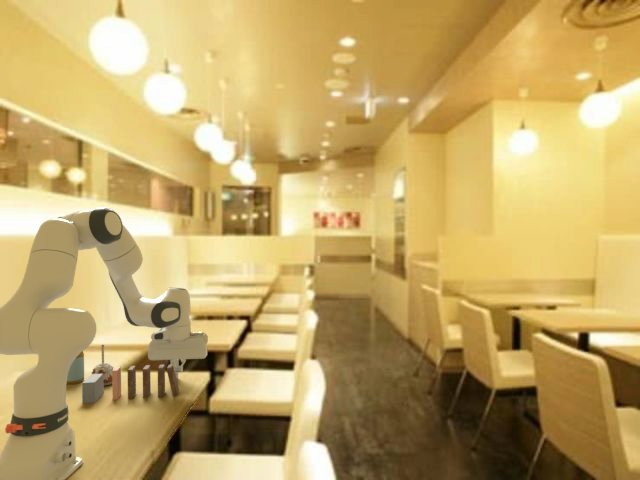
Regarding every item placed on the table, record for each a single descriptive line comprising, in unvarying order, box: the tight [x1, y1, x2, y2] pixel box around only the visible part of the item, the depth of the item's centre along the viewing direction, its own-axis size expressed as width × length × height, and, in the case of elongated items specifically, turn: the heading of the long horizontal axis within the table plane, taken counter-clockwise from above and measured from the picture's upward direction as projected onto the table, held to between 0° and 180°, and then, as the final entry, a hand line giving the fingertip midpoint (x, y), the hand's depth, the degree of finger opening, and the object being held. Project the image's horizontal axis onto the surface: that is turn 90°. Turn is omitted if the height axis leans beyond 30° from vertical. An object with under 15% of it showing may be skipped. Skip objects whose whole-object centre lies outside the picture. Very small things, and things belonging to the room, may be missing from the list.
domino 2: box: [127, 365, 137, 400], centre depth 168 cm, size 2×5×10 cm, turn 9°
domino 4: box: [157, 364, 166, 398], centre depth 170 cm, size 2×5×10 cm, turn 9°
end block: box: [81, 373, 105, 404], centre depth 166 cm, size 10×4×7 cm, turn 9°
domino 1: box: [111, 366, 122, 400], centre depth 168 cm, size 2×5×10 cm, turn 9°
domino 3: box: [142, 364, 152, 399], centre depth 169 cm, size 2×5×10 cm, turn 9°
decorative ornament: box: [91, 344, 114, 386], centre depth 182 cm, size 8×8×15 cm
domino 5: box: [166, 363, 180, 397], centre depth 170 cm, size 2×5×10 cm, turn 9°
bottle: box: [66, 350, 85, 385], centre depth 185 cm, size 7×7×15 cm
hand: (178, 371), depth 171 cm, fingers closed
